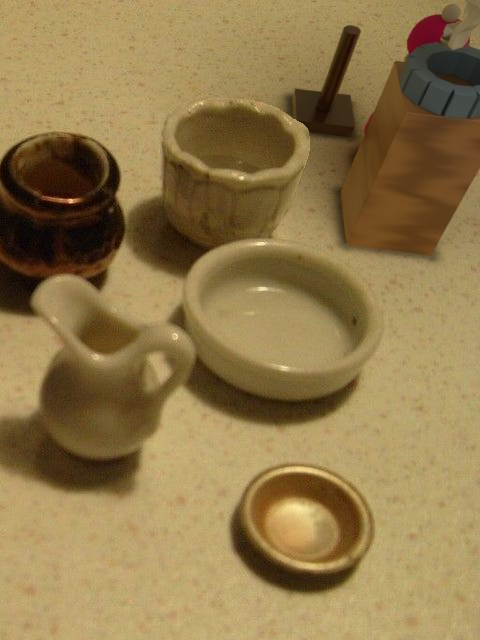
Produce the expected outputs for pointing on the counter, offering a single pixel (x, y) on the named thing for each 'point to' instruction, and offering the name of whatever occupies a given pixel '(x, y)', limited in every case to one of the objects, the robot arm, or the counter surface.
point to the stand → (329, 94)
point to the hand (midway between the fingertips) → (414, 19)
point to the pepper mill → (430, 31)
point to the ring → (440, 93)
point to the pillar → (408, 173)
